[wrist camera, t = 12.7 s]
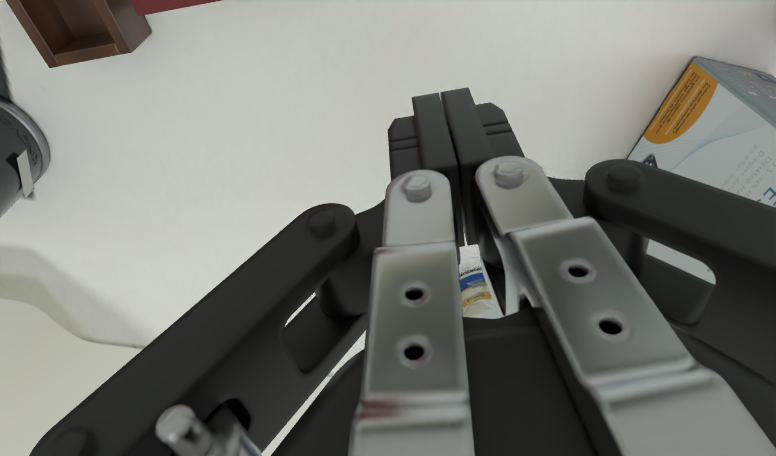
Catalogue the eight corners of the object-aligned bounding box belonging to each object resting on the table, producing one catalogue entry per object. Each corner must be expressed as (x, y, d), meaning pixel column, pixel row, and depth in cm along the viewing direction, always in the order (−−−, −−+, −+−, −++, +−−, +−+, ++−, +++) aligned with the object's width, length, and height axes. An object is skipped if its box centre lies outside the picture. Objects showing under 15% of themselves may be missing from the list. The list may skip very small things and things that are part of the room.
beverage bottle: (494, 322, 58) (539, 498, 43) (431, 306, 56) (455, 487, 41) (532, 276, 53) (597, 458, 38) (465, 258, 51) (505, 443, 36)
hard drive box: (691, 53, 37) (911, 211, 22) (772, 73, 39) (1033, 236, 24) (592, 206, 47) (699, 389, 32) (660, 219, 48) (793, 400, 33)
